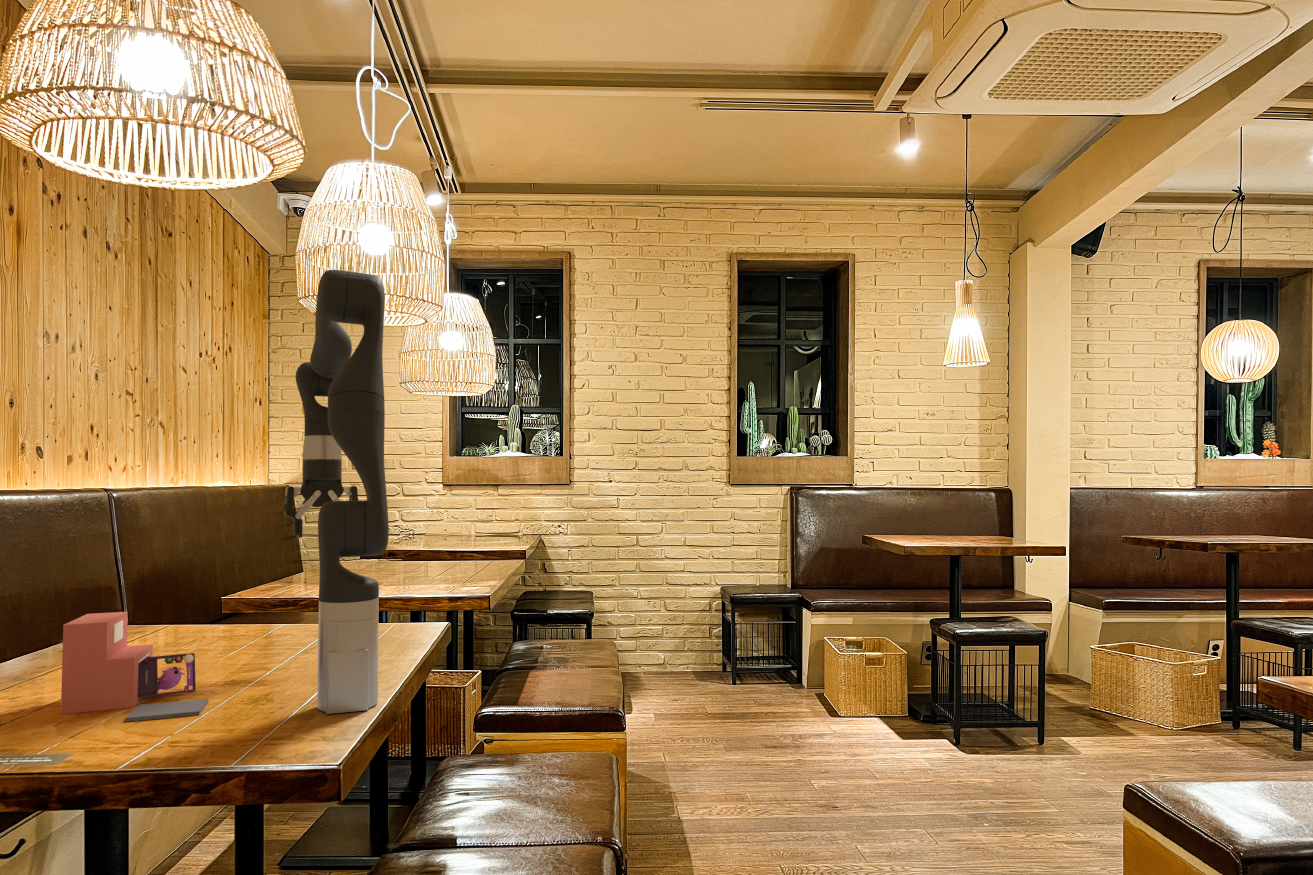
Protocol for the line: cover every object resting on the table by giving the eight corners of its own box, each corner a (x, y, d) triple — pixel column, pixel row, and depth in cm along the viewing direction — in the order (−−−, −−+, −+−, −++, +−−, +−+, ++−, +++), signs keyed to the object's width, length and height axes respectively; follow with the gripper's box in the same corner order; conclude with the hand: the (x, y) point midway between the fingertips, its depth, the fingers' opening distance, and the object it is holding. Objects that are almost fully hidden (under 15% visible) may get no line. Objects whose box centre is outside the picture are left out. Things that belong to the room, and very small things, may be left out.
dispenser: (133, 707, 133) (135, 620, 134) (60, 713, 130) (63, 624, 131) (151, 690, 145) (153, 610, 145) (85, 695, 141) (87, 613, 142)
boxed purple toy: (136, 656, 139) (195, 651, 145) (130, 665, 143) (189, 659, 148) (136, 696, 136) (196, 689, 142) (130, 704, 140) (190, 697, 146)
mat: (198, 714, 129) (199, 711, 129) (125, 721, 125) (125, 717, 125) (208, 702, 136) (208, 698, 136) (138, 708, 133) (139, 704, 133)
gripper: (289, 457, 163) (288, 539, 162) (362, 457, 171) (362, 535, 170) (281, 458, 169) (280, 537, 168) (352, 459, 177) (352, 534, 176)
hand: (321, 536), depth 169 cm, fingers open, 8 cm apart
